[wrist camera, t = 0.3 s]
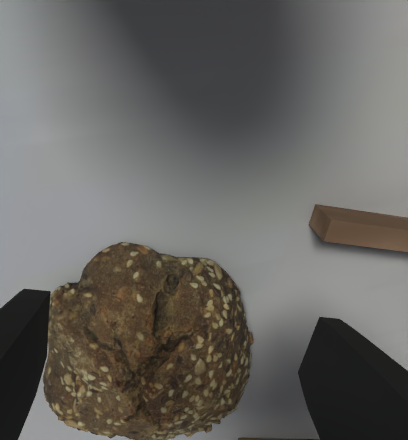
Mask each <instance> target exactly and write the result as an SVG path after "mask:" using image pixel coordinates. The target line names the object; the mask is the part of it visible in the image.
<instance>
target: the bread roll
mask: <svg viewBox="0 0 408 440" xmlns="http://www.w3.org/2000/svg"><path fill="white" fill-rule="evenodd" d="M245 316H246V315H245V312H244V308H243V304H242V302H241V300H240V291H239V289H238V288H237V286H236V285H235V283H234V282H233V280H232V279H231V278H230V276H229V275H228V274H227V273H226V271H224V270H223V269H222V268H221V267H219V266H218V265H217V264H216V262H214V261H212V260H211V259H206V258H195V257H174V256H170V255H166V254H159V253H157V252H155V251H154V250H152V249H150V248H149V247H147V246H142V245H137V244H132V243H126V242H121V243H118V244H115V245H112V246H110V247H108V248H106V249H104V250H102V251H101V252H99V253H98V254H97V255H96V256H95V257H94V258H93V259H92V260H91V261H90V262H89V263H88V264H87V265H86V267H85V268H84V270H83V273H82V276H81V279H80V281H79V282H78V283H73V284H72V283H67V284H65V285H64V286H59V287H58V288H57V289H56V290H55V291H54V292H53V293H52V295H51V297H50V308H49V326H48V344H49V354H48V360H47V363H46V367H45V372H44V376H43V382H44V385H45V386H44V393H45V398H46V401H47V402H49V407H50V408H51V409H52V411H53V412H54V413H55V414H56V415H57V416H58V420H61V421H64V423H65V424H66V425H67V426H70V427H73V428H77V429H78V430H83V431H85V432H87V431H90V432H91V433H93V434H96V435H104V436H108V437H109V438H112V437H114V436H116V435H118V436H125V437H127V438H129V439H134V440H167V439H172V438H175V436H176V435H180V434H185V435H186V436H187V437H191V436H192V435H193V434H194V433H195V432H199V431H206V432H209V431H211V429H212V425H211V424H212V423H216V424H220V419H221V418H225V416H227V415H228V414H231V412H232V411H234V410H236V409H237V404H238V403H239V400H240V398H241V396H242V394H243V393H244V387H245V385H246V384H247V382H248V381H247V380H248V378H249V369H250V364H251V362H250V360H251V353H250V345H251V344H253V337H252V333H250V332H248V327H247V325H246V318H245Z"/></svg>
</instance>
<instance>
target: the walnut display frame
mask: <svg viewBox="0 0 408 440" xmlns="http://www.w3.org/2000/svg"><path fill="white" fill-rule="evenodd" d="M309 225H310V226H311V228H312V229H313V230H314V231H315V232H316V233H317V234H318V236H319V237H320V238H321V239H322V240H323V241H324V242H332V243H340V244H347V245H355V246H363V247H371V248H379V249H387V250H395V251H403V252H408V218H406V217H399V216H392V215H385V214H378V213H371V212H364V211H358V210H351V209H344V208H337V207H330V206H323V205H315V208H314V211H313V214H312V217H311V220H310V223H309ZM238 440H306V439H258V438H239V439H238Z"/></svg>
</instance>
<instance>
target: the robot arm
mask: <svg viewBox="0 0 408 440" xmlns="http://www.w3.org/2000/svg"><path fill="white" fill-rule="evenodd" d="M49 308H50V291H41V290H31V289H23V290H22V291H20V292H19V293H18V294H17V295H16V296H14V297H13V298H12V299H11V300H10V301H9V302H7V303H6V304H5V305H4V306H3V307H2V308H0V440H18V438H19V436H20V433H21V431H22V428H23V426H24V423H25V421H26V418H27V416H28V413H29V411H30V408H31V406H32V403H33V401H34V398H35V396H36V392H37V389H38V386H39V382H40V379H41V375H42V371H43V368H44V364H45V361H46V357H47V343H48V326H49ZM298 374H299V378H300V382H301V386H302V390H303V394H304V397H305V400H306V404H307V407H308V410H309V412H310V415H311V418H312V420H313V422H314V425H315V427H316V430H317V432H318V435H319V437H320V439H321V440H408V371H407V370H406V369H404V368H403V367H402V366H401V365H399V364H398V363H397V362H395V361H394V360H393V359H392V358H390V357H389V356H388V355H387V354H385V353H384V352H383V351H382V350H380V349H379V348H378V347H376V346H375V345H374V344H373V343H371V342H370V341H369V340H368V339H366V338H365V337H364V336H362V335H361V334H360V333H358V332H357V331H356V330H354V329H353V328H352V327H350V326H349V325H348V324H346V323H345V322H343V321H342V320H340V319H335V318H324V317H319V320H318V322H317V325H316V327H315V330H314V332H313V335H312V338H311V340H310V343H309V345H308V348H307V350H306V353H305V356H304V358H303V361H302V363H301V366H300V368H299V371H298Z"/></svg>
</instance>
